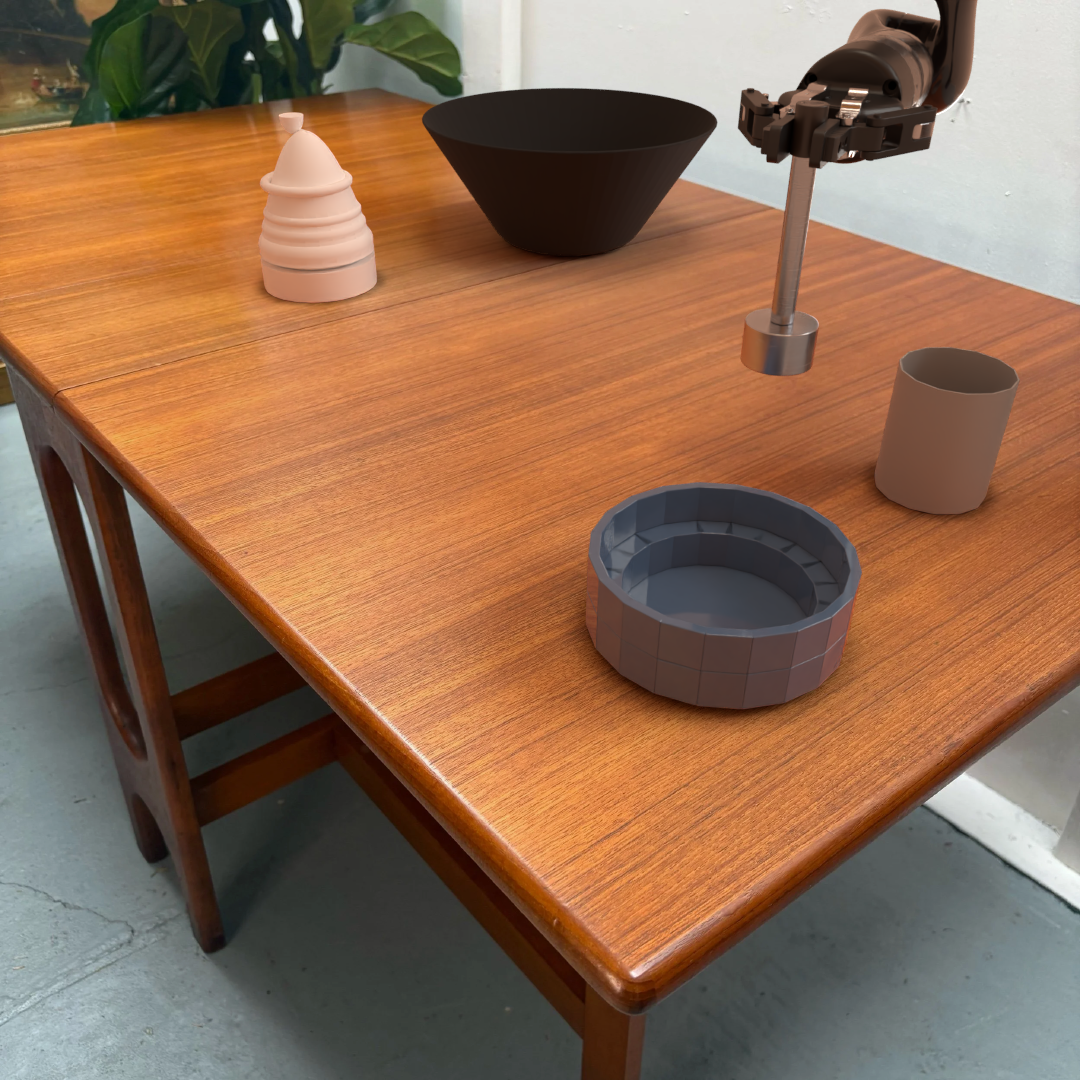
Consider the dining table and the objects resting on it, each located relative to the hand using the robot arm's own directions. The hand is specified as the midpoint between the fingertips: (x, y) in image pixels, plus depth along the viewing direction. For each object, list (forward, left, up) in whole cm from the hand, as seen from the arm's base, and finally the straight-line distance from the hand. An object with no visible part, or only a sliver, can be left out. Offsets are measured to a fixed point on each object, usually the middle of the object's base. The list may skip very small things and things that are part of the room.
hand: (795, 148), depth 61 cm
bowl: (+19, -65, -27) cm, 73 cm away
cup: (-15, -7, -27) cm, 32 cm away
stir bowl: (+3, +13, -27) cm, 30 cm away
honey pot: (+46, -46, -27) cm, 70 cm away
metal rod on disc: (-1, -3, -15) cm, 15 cm away
